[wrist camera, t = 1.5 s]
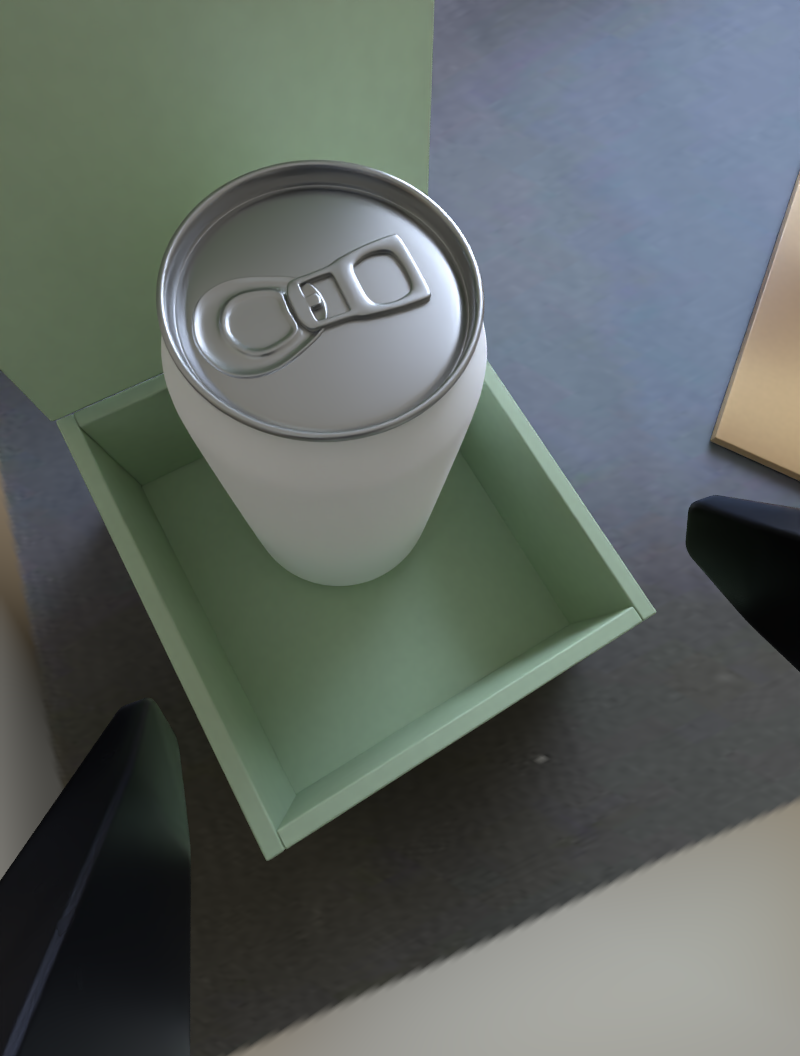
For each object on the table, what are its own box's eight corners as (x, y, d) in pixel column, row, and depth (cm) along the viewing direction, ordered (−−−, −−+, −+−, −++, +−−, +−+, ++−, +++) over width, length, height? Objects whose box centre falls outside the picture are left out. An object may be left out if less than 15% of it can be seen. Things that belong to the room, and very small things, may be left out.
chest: (582, 630, 21) (657, 612, 16) (290, 813, 19) (266, 862, 14) (405, 354, 24) (420, 259, 19) (128, 485, 22) (54, 420, 16)
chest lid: (465, -861, 6) (283, -838, 7) (-1212, -865, 3) (-972, -825, 5) (426, 257, 18) (361, 180, 20) (51, 422, 16) (10, 321, 17)
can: (224, 461, 22) (74, 200, 10) (382, 398, 23) (410, 100, 11) (293, 619, 20) (211, 530, 9) (456, 544, 21) (576, 377, 10)
